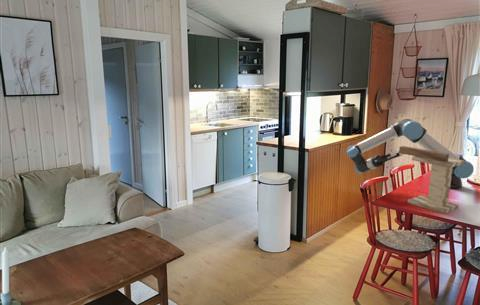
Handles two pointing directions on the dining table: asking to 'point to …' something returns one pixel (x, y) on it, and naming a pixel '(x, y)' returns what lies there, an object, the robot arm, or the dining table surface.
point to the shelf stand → (437, 186)
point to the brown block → (424, 153)
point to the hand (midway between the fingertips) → (402, 151)
